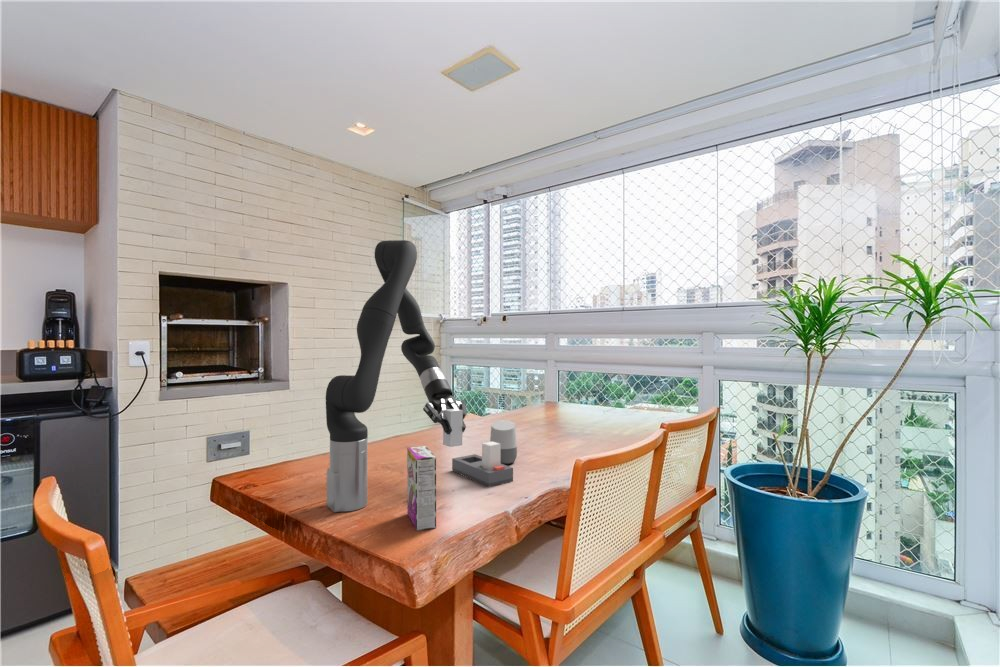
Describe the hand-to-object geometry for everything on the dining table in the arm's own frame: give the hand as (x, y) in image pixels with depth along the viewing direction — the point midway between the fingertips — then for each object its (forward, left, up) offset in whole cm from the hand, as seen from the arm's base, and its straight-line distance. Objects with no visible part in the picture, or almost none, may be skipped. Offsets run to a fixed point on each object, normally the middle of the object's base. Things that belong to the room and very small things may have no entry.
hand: (456, 431), depth 132 cm
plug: (0, +2, -4) cm, 5 cm away
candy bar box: (-19, -14, -17) cm, 29 cm away
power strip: (+13, +6, -16) cm, 22 cm away
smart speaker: (+28, +14, -17) cm, 35 cm away
